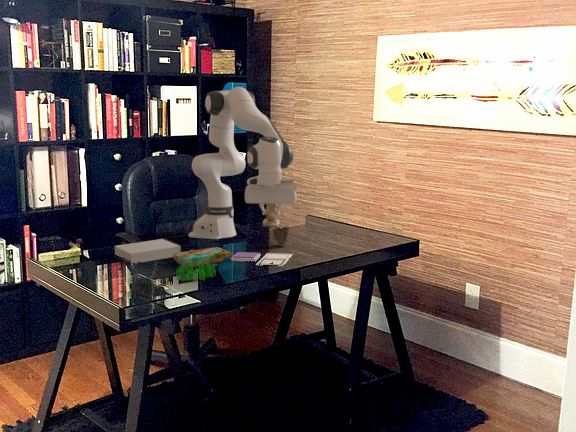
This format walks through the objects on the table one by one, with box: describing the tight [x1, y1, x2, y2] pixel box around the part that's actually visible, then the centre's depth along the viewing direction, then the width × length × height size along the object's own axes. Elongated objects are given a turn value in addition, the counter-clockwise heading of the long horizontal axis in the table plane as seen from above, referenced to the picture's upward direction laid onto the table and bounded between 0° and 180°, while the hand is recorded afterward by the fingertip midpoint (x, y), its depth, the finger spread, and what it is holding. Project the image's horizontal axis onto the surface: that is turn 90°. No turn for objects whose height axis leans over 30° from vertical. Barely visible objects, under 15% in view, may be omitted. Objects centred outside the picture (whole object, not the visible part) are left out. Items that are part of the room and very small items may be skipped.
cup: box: [272, 226, 290, 248], centre depth 286 cm, size 8×7×8 cm
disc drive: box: [114, 237, 183, 264], centre depth 273 cm, size 18×22×5 cm
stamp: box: [262, 203, 281, 228], centre depth 255 cm, size 6×4×10 cm
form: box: [255, 252, 294, 267], centre depth 263 cm, size 11×19×1 cm, turn 168°
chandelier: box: [175, 258, 216, 282], centre depth 240 cm, size 15×15×7 cm
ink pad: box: [230, 251, 262, 263], centre depth 265 cm, size 10×9×2 cm
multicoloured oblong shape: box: [172, 246, 233, 268], centre depth 261 cm, size 12×5×20 cm
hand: (271, 214), depth 255 cm, fingers closed on stamp, 4 cm apart
